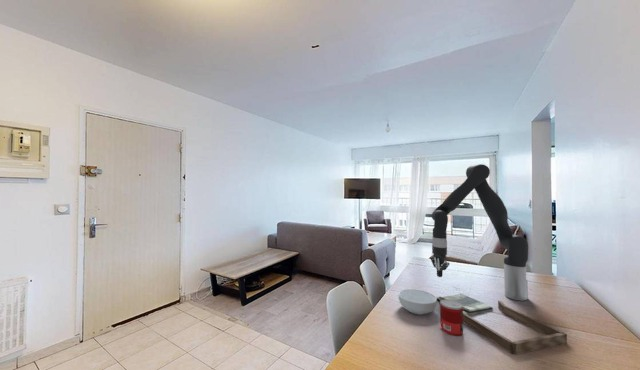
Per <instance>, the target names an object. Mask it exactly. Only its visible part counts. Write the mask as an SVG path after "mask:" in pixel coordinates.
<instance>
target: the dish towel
mask: <svg viewBox="0 0 640 370" xmlns="http://www.w3.org/2000/svg"><path fill="white" fill-rule="evenodd" d="M436 298H437V302H439V303H440V301H441V300H444V299H448V300H454V301H457V302H459V303H461V304H462V307H463V312H464V313H465V314H467V315H469V316H470V315H471V316H472V315H474V314H480V313H484V312H489V311H493V310H494V308H493V306H491V305H489V304H487V303H485V302H483V301H480V300H478V299H475V298H473V297H470V296H469V295H466V294H464V293H458V294H453V295H446V296H439V297H436Z"/></svg>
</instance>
